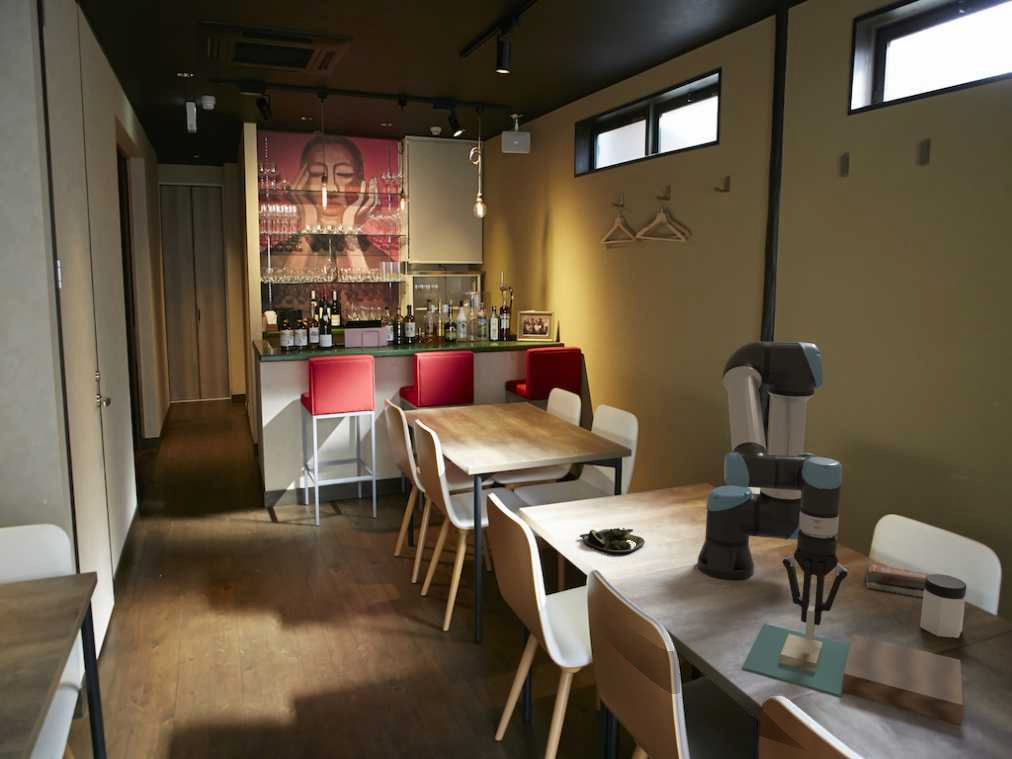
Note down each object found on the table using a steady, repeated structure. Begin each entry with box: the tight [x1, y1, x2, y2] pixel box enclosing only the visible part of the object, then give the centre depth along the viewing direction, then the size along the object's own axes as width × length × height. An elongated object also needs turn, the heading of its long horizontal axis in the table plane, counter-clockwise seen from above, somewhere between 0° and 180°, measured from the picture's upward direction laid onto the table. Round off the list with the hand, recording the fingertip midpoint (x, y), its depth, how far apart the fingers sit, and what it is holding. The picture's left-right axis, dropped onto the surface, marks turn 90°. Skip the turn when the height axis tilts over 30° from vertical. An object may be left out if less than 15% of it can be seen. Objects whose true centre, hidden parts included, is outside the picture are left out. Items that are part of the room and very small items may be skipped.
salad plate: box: [579, 527, 646, 556], centre depth 219 cm, size 19×18×5 cm
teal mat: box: [741, 623, 850, 697], centre depth 154 cm, size 19×22×1 cm
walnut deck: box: [842, 634, 964, 726], centre depth 144 cm, size 20×18×4 cm
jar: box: [919, 573, 967, 639], centre depth 166 cm, size 9×8×12 cm
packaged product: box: [864, 563, 930, 598], centre depth 189 cm, size 18×5×10 cm
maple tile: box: [780, 634, 823, 672], centre depth 154 cm, size 7×10×2 cm
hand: (809, 636), depth 152 cm, fingers closed
